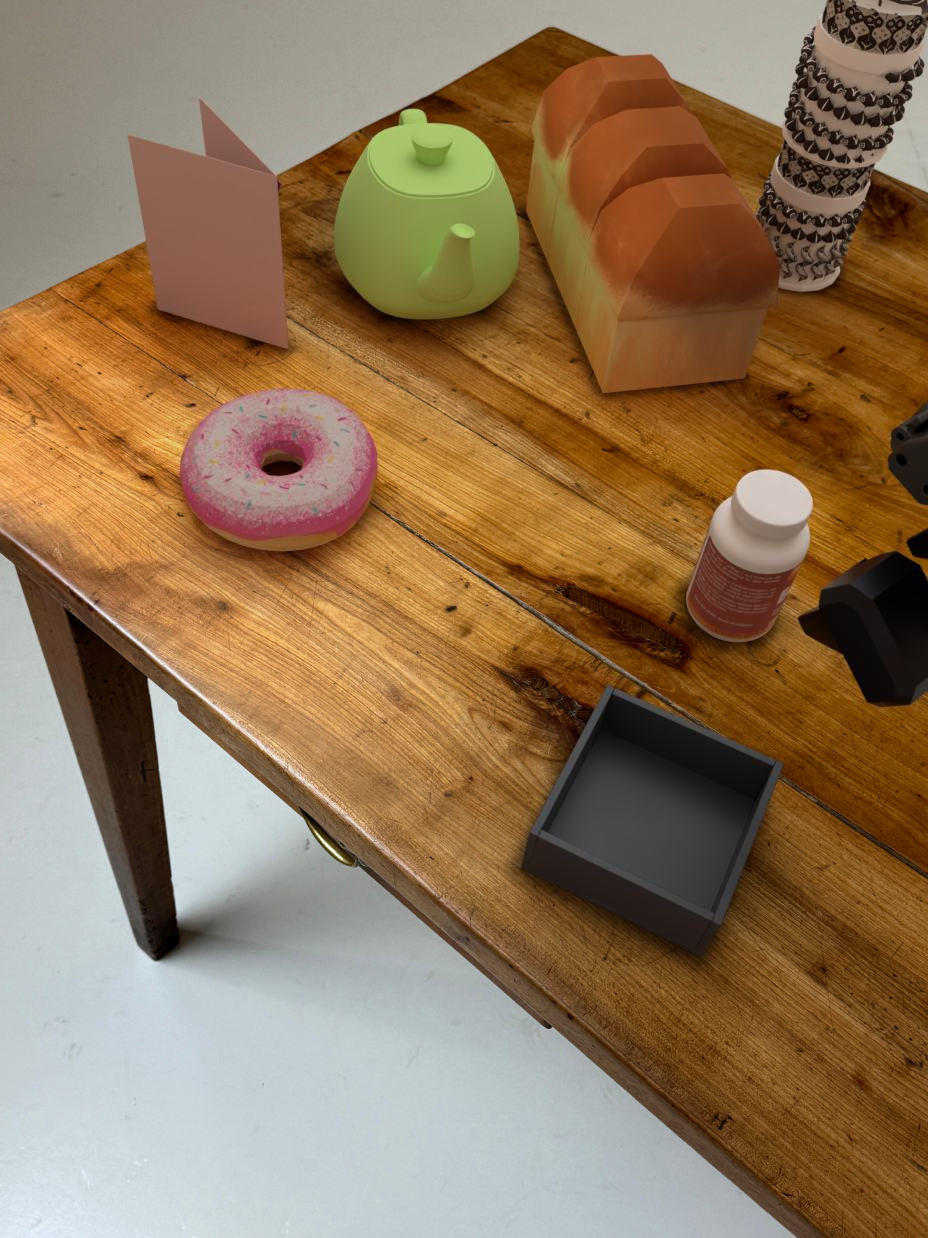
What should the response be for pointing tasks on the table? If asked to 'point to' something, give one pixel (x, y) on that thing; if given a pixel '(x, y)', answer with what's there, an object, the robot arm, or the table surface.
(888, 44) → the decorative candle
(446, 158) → the teapot
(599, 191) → the bread
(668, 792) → the bin
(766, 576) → the pill bottle
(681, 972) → the table surface
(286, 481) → the donut
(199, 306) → the greeting card
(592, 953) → the table surface
